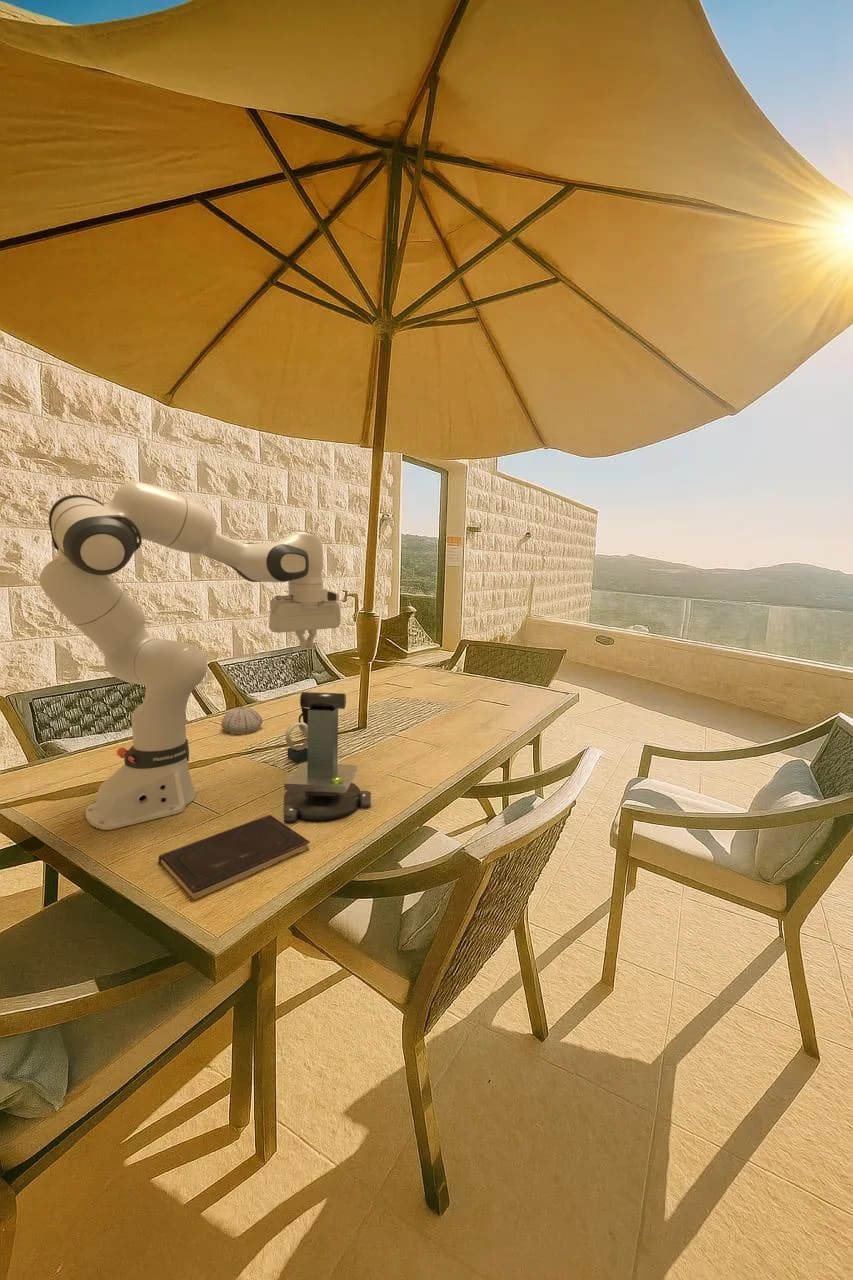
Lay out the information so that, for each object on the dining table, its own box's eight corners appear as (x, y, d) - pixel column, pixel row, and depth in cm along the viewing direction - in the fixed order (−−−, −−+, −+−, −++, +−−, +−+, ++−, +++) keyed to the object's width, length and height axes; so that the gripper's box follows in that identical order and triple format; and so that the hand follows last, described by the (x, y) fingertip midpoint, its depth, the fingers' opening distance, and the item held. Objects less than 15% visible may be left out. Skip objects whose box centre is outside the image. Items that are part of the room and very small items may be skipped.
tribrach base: (298, 783, 132) (298, 763, 131) (376, 787, 131) (376, 767, 131) (271, 823, 112) (270, 799, 111) (363, 827, 111) (363, 803, 110)
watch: (316, 758, 150) (316, 722, 148) (292, 765, 144) (291, 728, 143) (305, 753, 154) (305, 718, 152) (282, 759, 148) (281, 723, 147)
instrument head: (302, 768, 128) (302, 686, 126) (357, 770, 127) (358, 688, 125) (284, 790, 114) (284, 698, 112) (345, 792, 114) (347, 700, 112)
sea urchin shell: (253, 721, 183) (252, 700, 182) (268, 731, 173) (268, 708, 172) (215, 728, 175) (214, 706, 173) (229, 739, 164) (228, 715, 163)
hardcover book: (309, 851, 102) (309, 841, 102) (193, 904, 86) (193, 892, 85) (268, 823, 113) (268, 813, 113) (159, 865, 96) (158, 853, 96)
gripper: (277, 596, 123) (278, 652, 125) (344, 594, 138) (344, 644, 140) (263, 595, 127) (264, 649, 129) (330, 593, 142) (330, 642, 144)
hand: (306, 646), depth 134 cm, fingers closed
